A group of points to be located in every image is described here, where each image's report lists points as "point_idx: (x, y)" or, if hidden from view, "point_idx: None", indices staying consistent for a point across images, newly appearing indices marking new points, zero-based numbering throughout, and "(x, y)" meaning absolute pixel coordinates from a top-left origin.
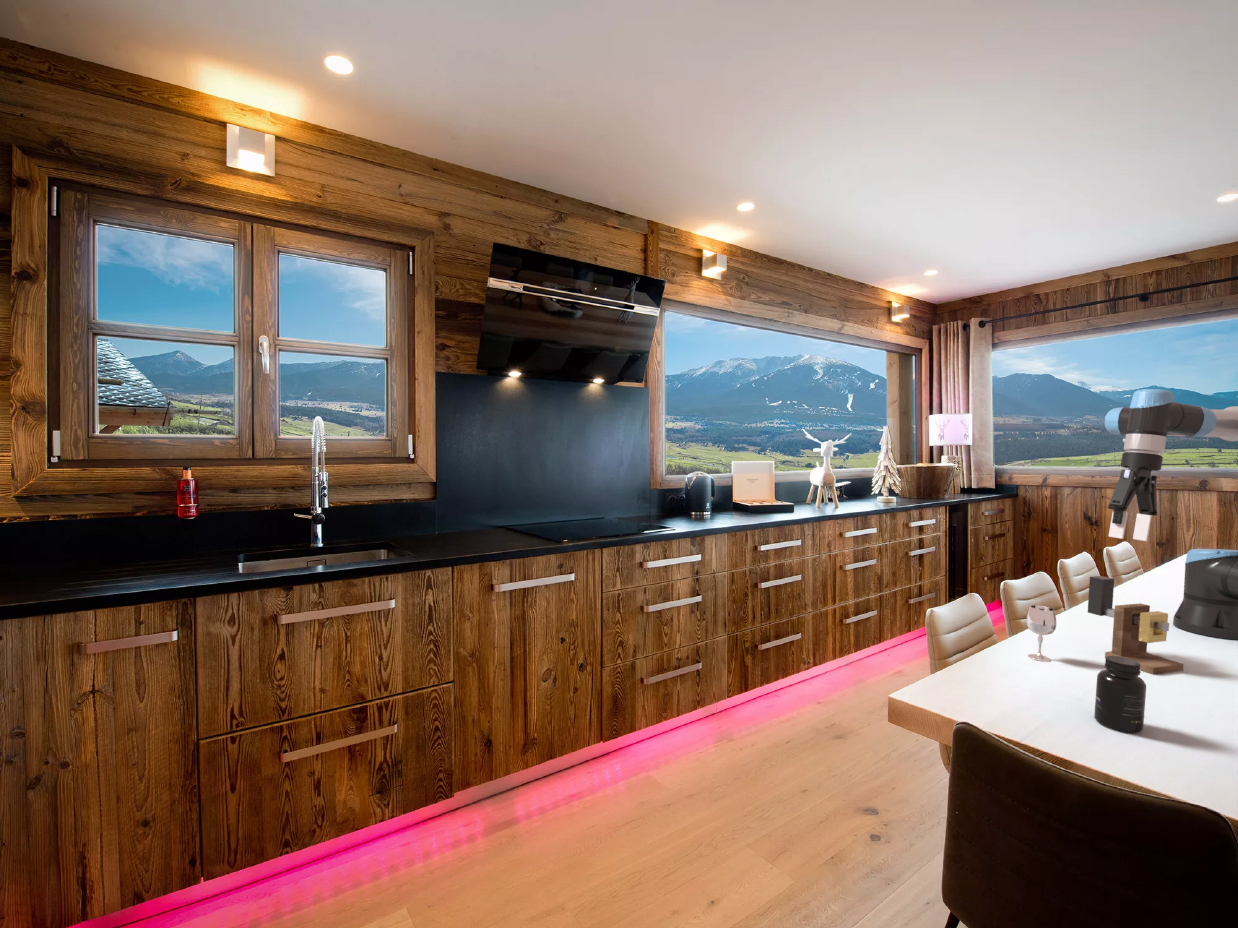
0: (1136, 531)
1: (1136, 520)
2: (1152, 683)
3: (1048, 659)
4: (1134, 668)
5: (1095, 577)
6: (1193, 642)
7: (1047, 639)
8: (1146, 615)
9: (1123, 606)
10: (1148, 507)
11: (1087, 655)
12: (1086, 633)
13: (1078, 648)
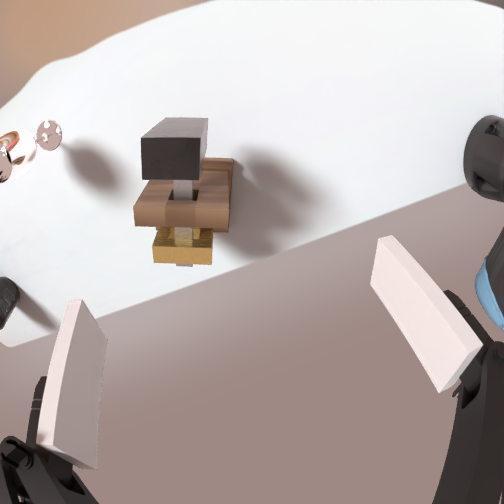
0: (399, 275)
1: (439, 318)
2: (121, 243)
3: (53, 146)
4: None
5: (150, 150)
6: (415, 164)
7: (155, 53)
8: (153, 255)
9: (146, 218)
10: (455, 432)
11: (138, 139)
12: (290, 50)
13: (161, 106)
